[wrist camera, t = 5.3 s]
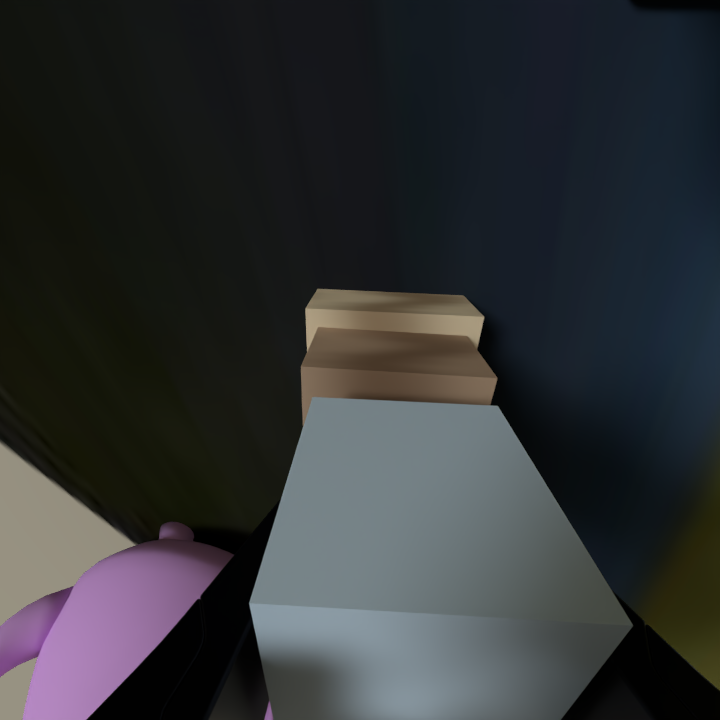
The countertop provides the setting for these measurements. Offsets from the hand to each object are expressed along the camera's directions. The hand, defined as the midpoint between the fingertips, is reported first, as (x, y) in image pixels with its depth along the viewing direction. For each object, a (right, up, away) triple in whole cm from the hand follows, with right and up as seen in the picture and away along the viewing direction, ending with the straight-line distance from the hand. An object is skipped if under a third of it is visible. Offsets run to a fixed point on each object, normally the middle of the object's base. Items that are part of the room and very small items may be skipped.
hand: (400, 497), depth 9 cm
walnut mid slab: (0, +2, +5) cm, 6 cm away
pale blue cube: (0, 0, +1) cm, 1 cm away
